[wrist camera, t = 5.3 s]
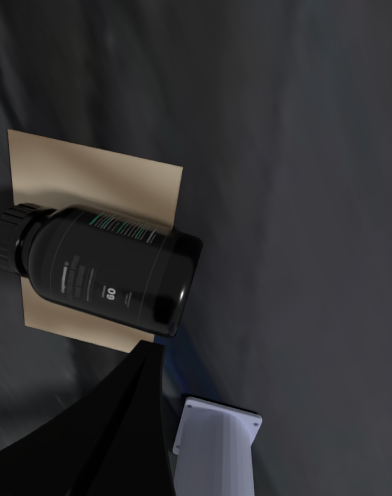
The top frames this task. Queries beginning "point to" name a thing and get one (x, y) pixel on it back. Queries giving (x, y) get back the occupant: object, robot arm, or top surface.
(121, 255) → the supplement bottle
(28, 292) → the tan paper sheet
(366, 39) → the top surface
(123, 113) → the top surface
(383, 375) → the top surface
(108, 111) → the top surface
